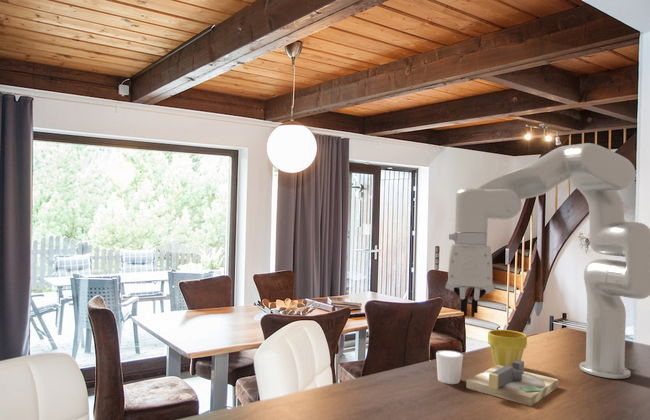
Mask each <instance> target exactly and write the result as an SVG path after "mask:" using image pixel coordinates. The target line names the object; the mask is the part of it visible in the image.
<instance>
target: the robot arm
mask: <svg viewBox="0 0 650 420" xmlns="http://www.w3.org/2000/svg"><path fill="white" fill-rule="evenodd" d="M568 179H569V181H570V182H571V185H572V186H573V187H574V188H575V189H576V190H578V191H579V192H580V193H581V194H582V195H583V197H584V198H585V200H586V202H587V205H588V212H589V213H588V214H589V219H588V220H589V221H588V222H589V244H590V247H591V249H592V251H594V252H595V253H597V254H599V255H600V254H601V255H606V256H615V257H623V258H625V261H623V260H617V259H616V260H615V259H606V258H605V259H604V258H599V259H595V260H592V261H590V262H588V263H587V265H586V266H585V268H584V272H583V280H584V286H585V290H586V302H587V303H586V307H587V308H586V336H585V337H586V341H585V361H582V362H580V363H579V369H580V370H581V371H582V372H585V373H586V374H589V375H592V376H595V377H600V378H605V379H614V380H615V379H616V380H619V379H628V378H630V377H631V376H632V375H631V374H632V373H631V370H630V369H628V368H627V367H625V357H626V356H625V355H626V353H625V352H626V351H625V350H626V318H627V317H626V316H627V313H626V312H627V311H626V307H625V304H624V301H623V300H622V298H621V297H623V298H628V299H629V298H630V299H637V300H643V299H646V298H648V297H650V228H649V226H648V225H646V224H644V223H642V222H638V221H625V211H624V209H625V207H624V201H623V199H622V197H621V195H620V194H619V191H623V190H625V189H628V188H630V187H631V186H632V184H633V183H634V181H635V179H636V169H635V165H634V164H633V163H632V162H631V161H630V159H628V158H626V157H625V156H622V155H621V154H620V153H616V152H615V151H612V150H611V149H608V148H607V147H604V146H601V145H600V144H596V143H591V142H585V143H577V144H570V145H562V146H558V147H557V148H554V149H553V150H550V151H549V152H548V153H546V154H544V155H542V156H541V157H539V158H538V159H536V160H534V161H533V162H531V163H530V164H527V165H526V166H522V167H520V168H517V169H515V170H512V171H511V172H508V173H505V174H502V175H501V176H498V177H495V178H493V179H490V180H489V181H487V182H485V183H484V184H482V185H480V186H478V187H476V188H461V189H459V190H458V191H457V192H456V195H455V221H454V223H455V225H454V226H455V227H454V230H455V231H454V232H453V233H449V235H448V240H452V241H453V242H454V244H451V246H450V251H449V258H448V259H449V260H448V271H447V275H448V276H447V277H448V278H447V281H446V283H445V289H447V290H449V291H451V292H453V293H455V294H456V295H457V297H459V298H460V312H461V313H463V317H466V316H467V315H468V313H467V312H468V311H467V310H468V298H467V295H466V288H472V289H474V293H473V295H472V298H471V308H470V309H471V310H470V311H471V314H470V315H471V317H472V318H475V314H478V306H479V300H480V299H481V298H483V296H484V295H486V294H490V293H493V292H495V291H496V289H495V287H494V282H493V256H492V254H493V253H492V248H491V246H489V245H488V224H489V221H488V220H500V221H501V220H510V219H512V218H515V217H516V216H517V215H518V214H519V213H520V211H521V209H522V200H526V199H530V198H531V199H532V198H536V197H539V196H543V195H545V194H546V193H548V192H550V191H551V190H552V189H554V188H555V187H558V186H559V185H561V184H562V183H564V182H565V181H567V180H568Z"/></svg>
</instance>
